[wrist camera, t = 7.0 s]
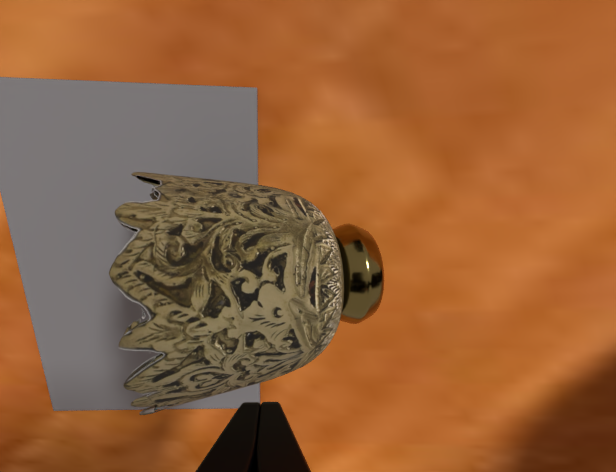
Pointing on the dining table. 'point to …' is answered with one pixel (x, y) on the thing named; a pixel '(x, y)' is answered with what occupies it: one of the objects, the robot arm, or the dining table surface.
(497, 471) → the dining table surface
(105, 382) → the felt pad
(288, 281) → the cup
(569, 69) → the dining table surface
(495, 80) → the dining table surface
